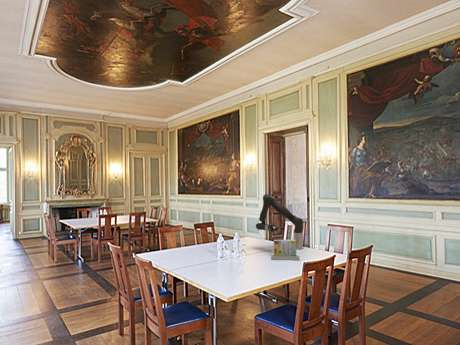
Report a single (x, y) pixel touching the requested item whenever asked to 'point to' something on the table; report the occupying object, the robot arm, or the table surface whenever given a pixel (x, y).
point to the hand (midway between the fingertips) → (280, 229)
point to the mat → (285, 258)
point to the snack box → (284, 247)
